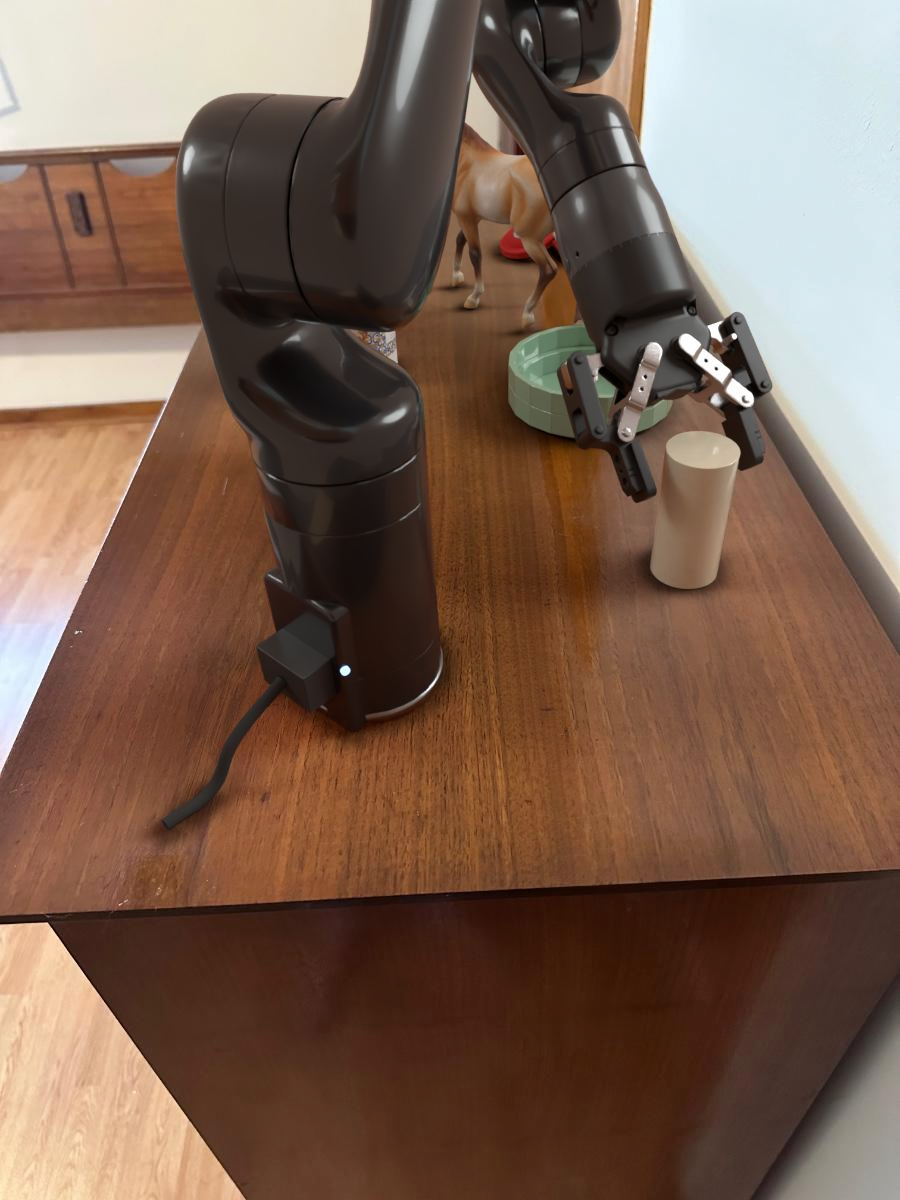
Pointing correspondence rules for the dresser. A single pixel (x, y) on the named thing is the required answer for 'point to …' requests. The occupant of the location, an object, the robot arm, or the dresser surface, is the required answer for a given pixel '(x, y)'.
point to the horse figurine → (500, 213)
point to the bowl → (539, 386)
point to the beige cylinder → (693, 508)
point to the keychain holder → (515, 248)
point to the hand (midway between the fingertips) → (700, 482)
